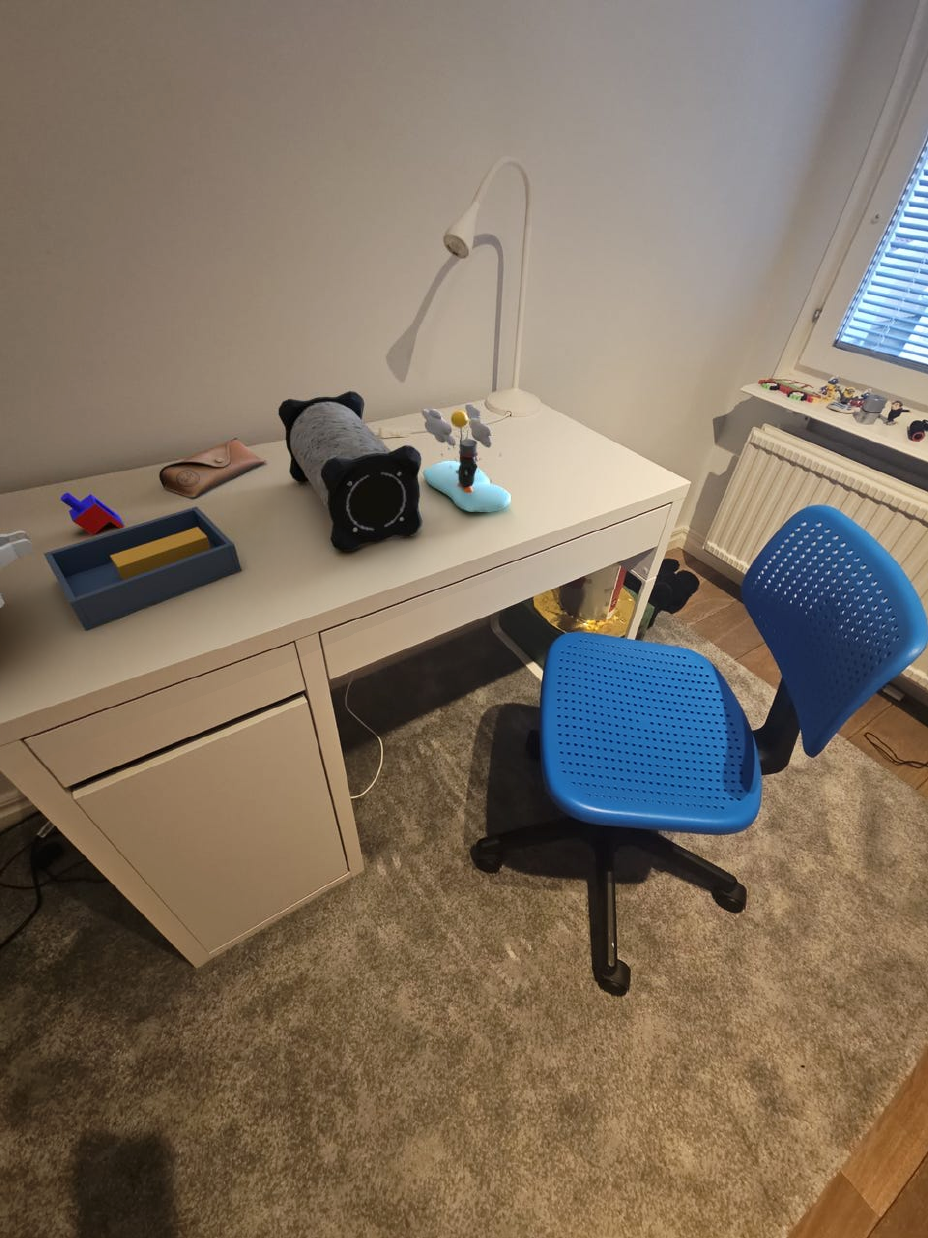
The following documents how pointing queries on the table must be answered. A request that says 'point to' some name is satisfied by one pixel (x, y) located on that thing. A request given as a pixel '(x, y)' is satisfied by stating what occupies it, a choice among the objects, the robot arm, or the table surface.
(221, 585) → the table surface
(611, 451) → the table surface
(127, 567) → the wooden stick
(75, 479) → the table surface
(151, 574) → the bin
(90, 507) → the toy building block
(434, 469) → the penguin figurine
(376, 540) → the speaker
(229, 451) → the sunglasses case
